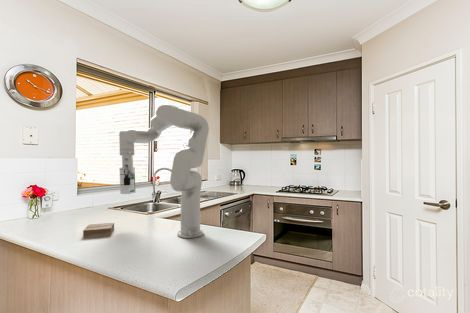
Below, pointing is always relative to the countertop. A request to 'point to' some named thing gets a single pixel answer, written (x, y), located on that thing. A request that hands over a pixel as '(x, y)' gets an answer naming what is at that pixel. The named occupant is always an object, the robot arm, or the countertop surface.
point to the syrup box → (127, 188)
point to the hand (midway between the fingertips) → (127, 184)
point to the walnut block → (98, 230)
